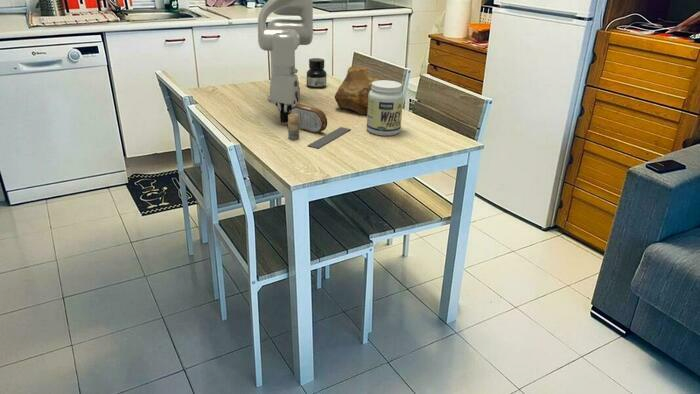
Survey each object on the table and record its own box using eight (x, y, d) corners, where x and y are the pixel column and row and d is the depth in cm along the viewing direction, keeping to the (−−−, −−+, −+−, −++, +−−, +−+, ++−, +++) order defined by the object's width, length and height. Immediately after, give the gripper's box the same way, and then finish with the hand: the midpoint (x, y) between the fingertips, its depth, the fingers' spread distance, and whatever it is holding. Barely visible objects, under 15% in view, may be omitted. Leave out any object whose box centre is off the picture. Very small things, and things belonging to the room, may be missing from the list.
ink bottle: (307, 89, 235) (307, 62, 230) (304, 84, 243) (304, 57, 237) (328, 88, 237) (329, 61, 232) (325, 83, 245) (325, 57, 239)
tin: (327, 133, 184) (328, 110, 180) (322, 136, 181) (322, 112, 178) (293, 124, 191) (293, 101, 187) (288, 126, 189) (287, 103, 185)
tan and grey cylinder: (292, 135, 181) (292, 112, 177) (301, 137, 179) (301, 114, 176) (286, 138, 178) (285, 115, 174) (295, 140, 176) (295, 117, 173)
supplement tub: (377, 138, 181) (380, 89, 174) (360, 127, 191) (362, 80, 183) (407, 134, 186) (411, 86, 179) (389, 123, 196) (392, 78, 189)
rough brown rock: (325, 104, 218) (323, 68, 210) (361, 97, 224) (361, 62, 216) (349, 123, 200) (348, 84, 192) (388, 115, 205) (388, 77, 198)
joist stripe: (340, 128, 189) (340, 127, 189) (350, 130, 188) (350, 129, 188) (307, 146, 172) (307, 145, 172) (318, 148, 170) (318, 147, 170)
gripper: (308, 71, 182) (308, 122, 190) (272, 65, 188) (273, 115, 196) (296, 75, 176) (296, 128, 184) (259, 69, 182) (261, 120, 190)
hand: (284, 121), depth 190 cm, fingers closed
